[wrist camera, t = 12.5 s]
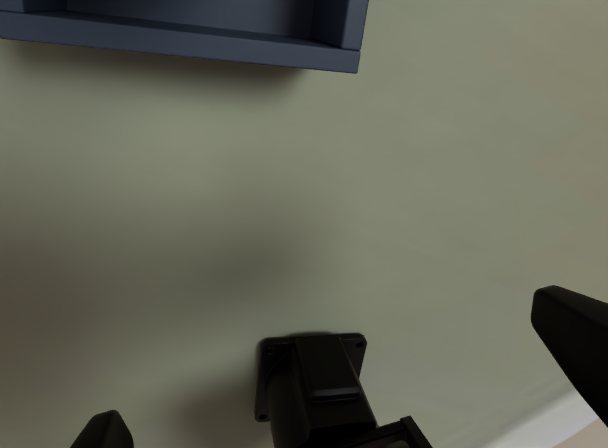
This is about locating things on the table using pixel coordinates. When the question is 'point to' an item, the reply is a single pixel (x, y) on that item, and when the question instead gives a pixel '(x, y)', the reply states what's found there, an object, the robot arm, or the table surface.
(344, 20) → the tub
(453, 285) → the table surface
